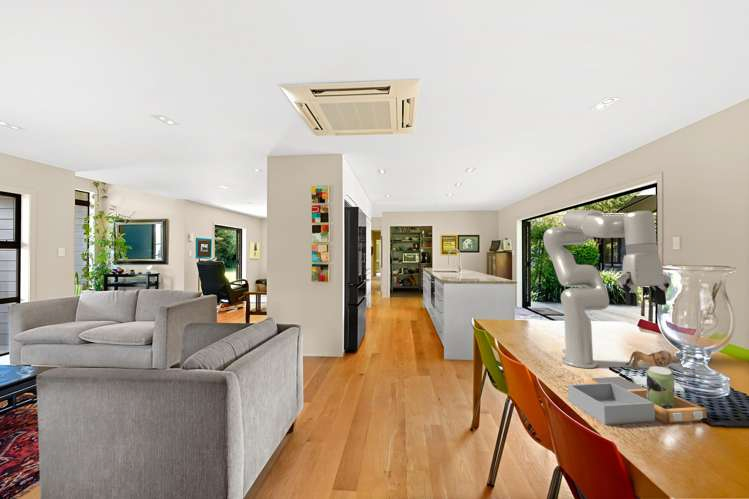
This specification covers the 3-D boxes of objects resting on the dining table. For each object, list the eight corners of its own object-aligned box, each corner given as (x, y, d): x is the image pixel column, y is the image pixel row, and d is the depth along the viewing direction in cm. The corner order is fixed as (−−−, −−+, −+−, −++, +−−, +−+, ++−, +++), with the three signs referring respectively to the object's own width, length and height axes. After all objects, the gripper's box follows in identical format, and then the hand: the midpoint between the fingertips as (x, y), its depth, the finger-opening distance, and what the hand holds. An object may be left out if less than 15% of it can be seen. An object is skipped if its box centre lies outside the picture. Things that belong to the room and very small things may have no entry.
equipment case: (588, 382, 113) (588, 373, 113) (619, 380, 114) (619, 372, 114) (668, 423, 84) (667, 412, 85) (709, 421, 85) (708, 409, 85)
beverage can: (667, 404, 95) (665, 364, 95) (682, 416, 88) (679, 373, 88) (642, 402, 97) (640, 362, 97) (654, 413, 90) (652, 371, 90)
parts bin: (568, 401, 99) (567, 384, 99) (611, 398, 100) (610, 382, 100) (605, 425, 85) (604, 406, 85) (655, 421, 86) (654, 403, 86)
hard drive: (636, 382, 109) (684, 389, 103) (630, 375, 116) (676, 380, 110) (636, 387, 109) (685, 394, 103) (631, 379, 116) (676, 385, 110)
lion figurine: (675, 374, 118) (674, 350, 118) (670, 378, 115) (669, 353, 115) (627, 364, 130) (626, 342, 131) (622, 366, 127) (621, 344, 128)
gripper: (655, 250, 104) (660, 303, 103) (606, 251, 103) (610, 304, 101) (678, 249, 97) (684, 305, 95) (626, 250, 95) (631, 307, 94)
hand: (646, 305), depth 98 cm, fingers open, 9 cm apart
